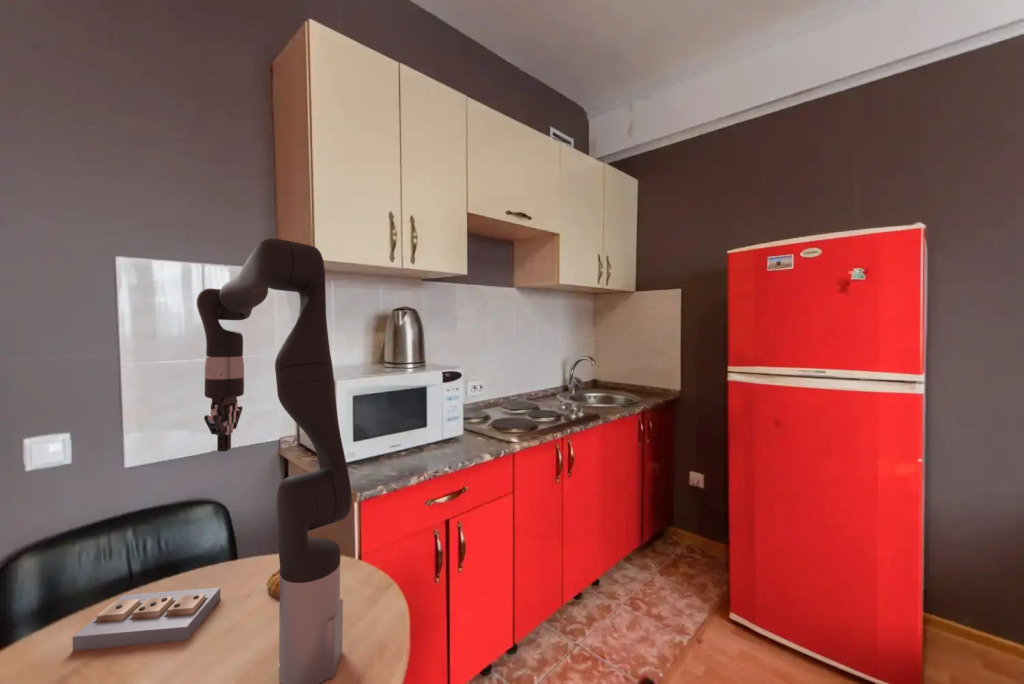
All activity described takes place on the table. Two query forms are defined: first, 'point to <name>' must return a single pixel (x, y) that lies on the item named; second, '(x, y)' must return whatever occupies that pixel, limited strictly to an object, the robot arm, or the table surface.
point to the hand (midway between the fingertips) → (224, 450)
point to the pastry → (274, 584)
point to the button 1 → (118, 611)
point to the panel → (146, 624)
